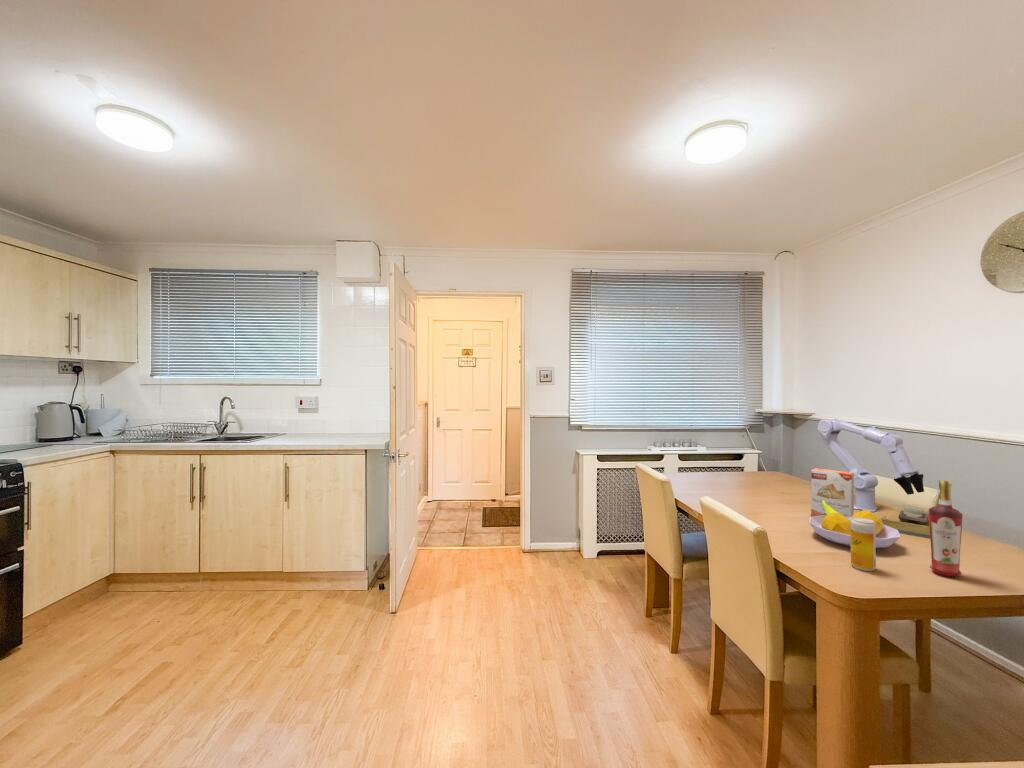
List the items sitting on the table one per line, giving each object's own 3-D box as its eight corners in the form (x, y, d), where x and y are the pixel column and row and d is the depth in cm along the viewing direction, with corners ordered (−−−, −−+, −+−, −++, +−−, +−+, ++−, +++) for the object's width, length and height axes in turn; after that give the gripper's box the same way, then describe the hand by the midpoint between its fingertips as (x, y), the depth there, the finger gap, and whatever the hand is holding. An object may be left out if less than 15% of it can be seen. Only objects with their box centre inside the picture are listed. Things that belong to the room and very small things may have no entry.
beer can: (851, 562, 141) (851, 515, 141) (875, 567, 137) (875, 519, 137) (850, 568, 137) (850, 520, 137) (875, 573, 133) (875, 524, 133)
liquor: (961, 573, 133) (961, 481, 133) (963, 582, 127) (963, 485, 127) (928, 567, 138) (927, 477, 138) (929, 574, 132) (928, 481, 132)
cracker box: (810, 518, 188) (810, 469, 188) (813, 515, 192) (813, 467, 193) (851, 525, 178) (851, 474, 178) (854, 522, 183) (853, 471, 183)
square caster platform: (900, 516, 190) (900, 504, 190) (928, 521, 184) (928, 508, 184) (897, 521, 183) (897, 509, 183) (927, 526, 177) (926, 513, 177)
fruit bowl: (918, 560, 143) (917, 525, 143) (820, 550, 152) (820, 517, 152) (878, 532, 170) (878, 503, 170) (796, 525, 178) (796, 497, 178)
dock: (883, 520, 185) (882, 510, 185) (942, 530, 172) (942, 519, 172) (877, 528, 174) (877, 518, 174) (941, 540, 161) (941, 529, 161)
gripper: (901, 460, 183) (917, 493, 179) (921, 457, 189) (936, 489, 184) (883, 464, 189) (898, 496, 185) (902, 461, 195) (917, 492, 190)
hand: (916, 493), depth 185 cm, fingers open, 7 cm apart
